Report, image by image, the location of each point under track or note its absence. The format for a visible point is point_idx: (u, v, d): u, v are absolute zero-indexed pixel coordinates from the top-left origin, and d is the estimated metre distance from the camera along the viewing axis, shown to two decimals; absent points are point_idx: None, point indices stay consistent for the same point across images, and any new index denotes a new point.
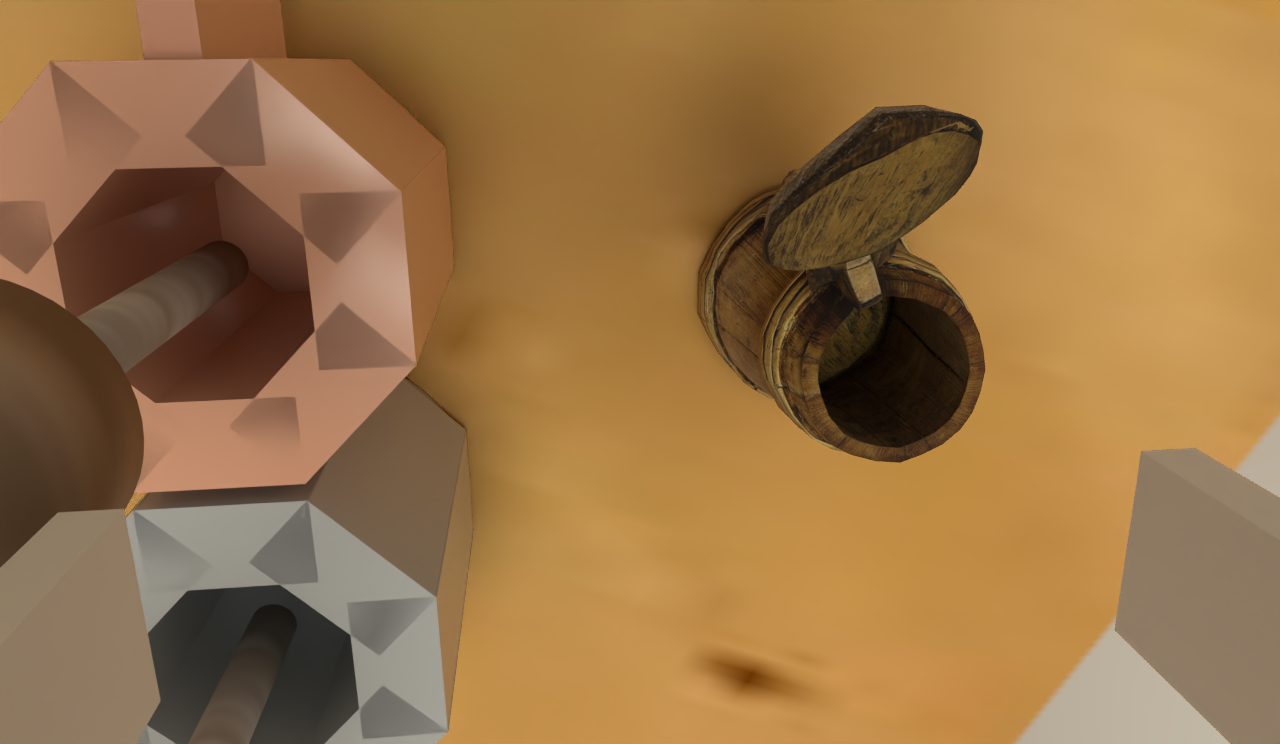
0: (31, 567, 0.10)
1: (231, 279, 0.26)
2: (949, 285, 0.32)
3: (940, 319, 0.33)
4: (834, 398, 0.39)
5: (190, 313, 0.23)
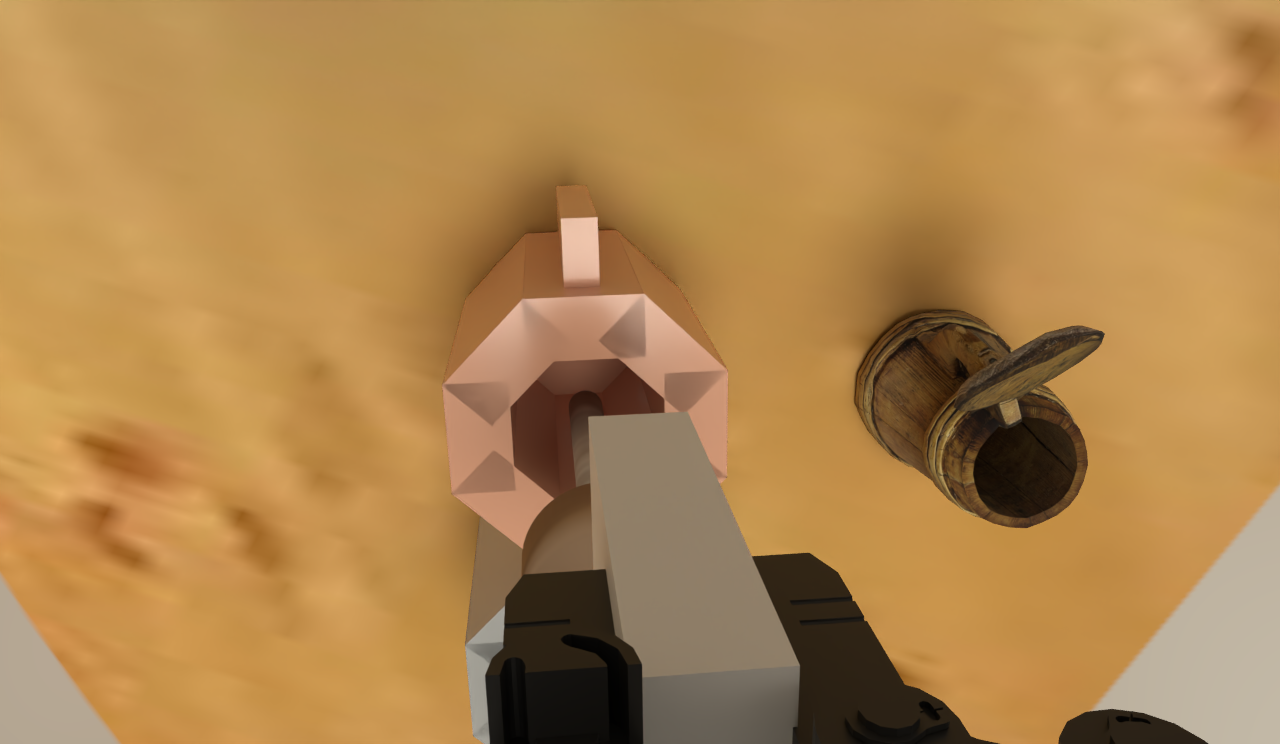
0: (618, 450, 0.13)
1: None
2: (1062, 405, 0.45)
3: (1051, 424, 0.47)
4: None
5: None
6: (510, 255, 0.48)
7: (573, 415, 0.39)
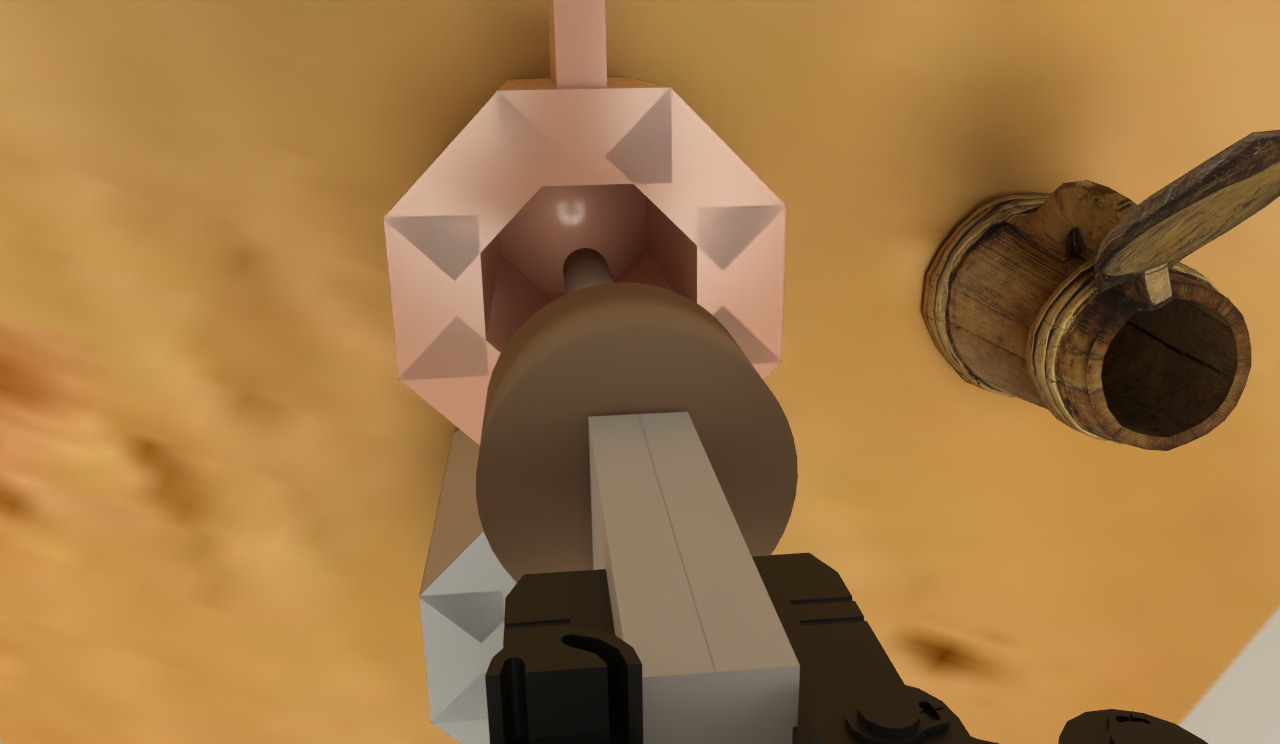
0: (617, 450, 0.13)
1: None
2: (1214, 287, 0.34)
3: (1193, 319, 0.36)
4: None
5: None
6: None
7: (569, 272, 0.28)
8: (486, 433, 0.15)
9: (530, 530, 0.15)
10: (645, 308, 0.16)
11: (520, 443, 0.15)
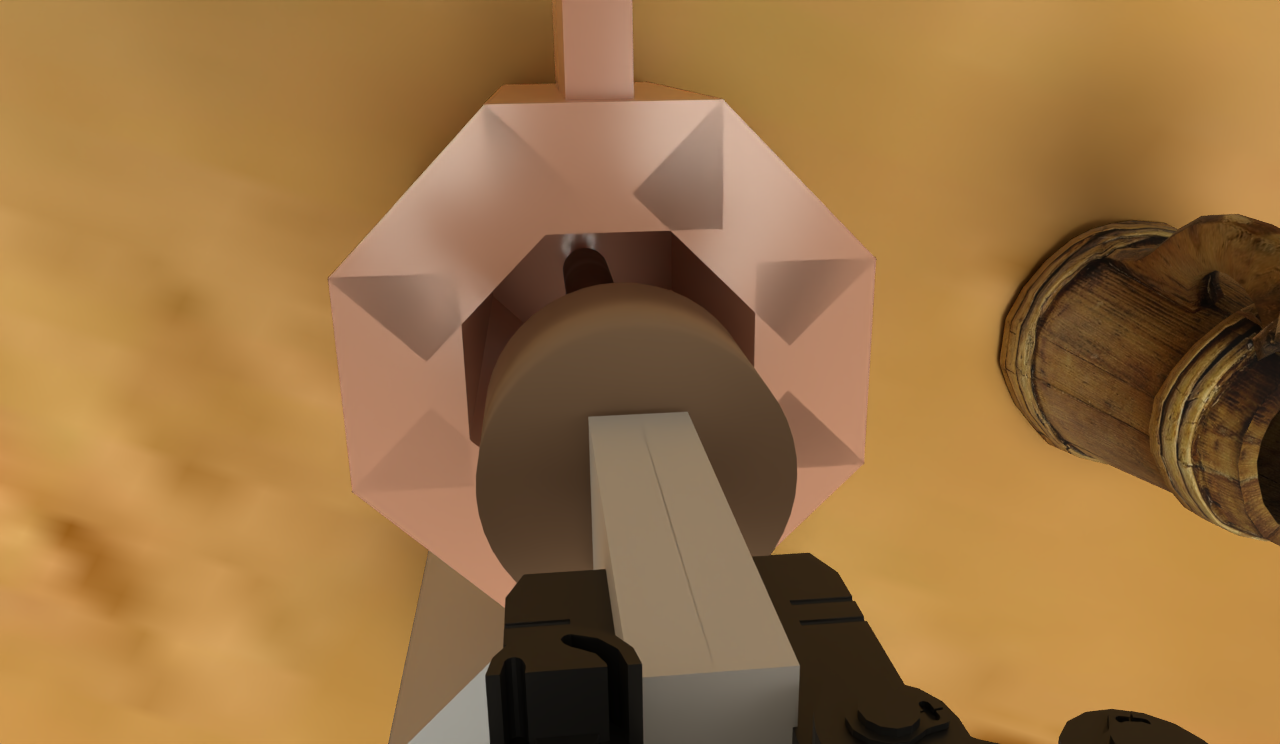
0: (617, 450, 0.13)
1: None
2: None
3: None
4: None
5: None
6: None
7: (569, 271, 0.28)
8: (486, 433, 0.15)
9: (530, 530, 0.15)
10: (645, 308, 0.16)
11: (520, 443, 0.15)
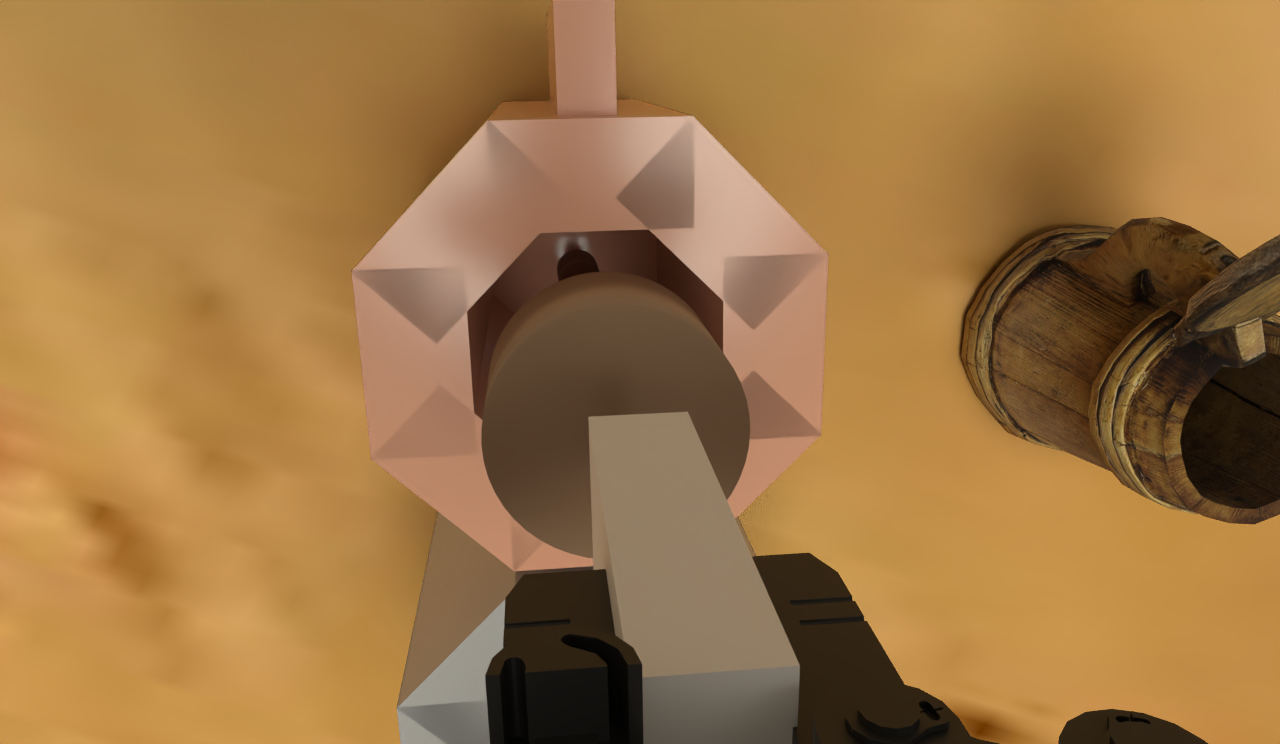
0: (617, 450, 0.13)
1: None
2: None
3: (1277, 371, 0.32)
4: None
5: None
6: None
7: (562, 270, 0.32)
8: (490, 393, 0.18)
9: (527, 475, 0.18)
10: (623, 291, 0.19)
11: (518, 401, 0.18)
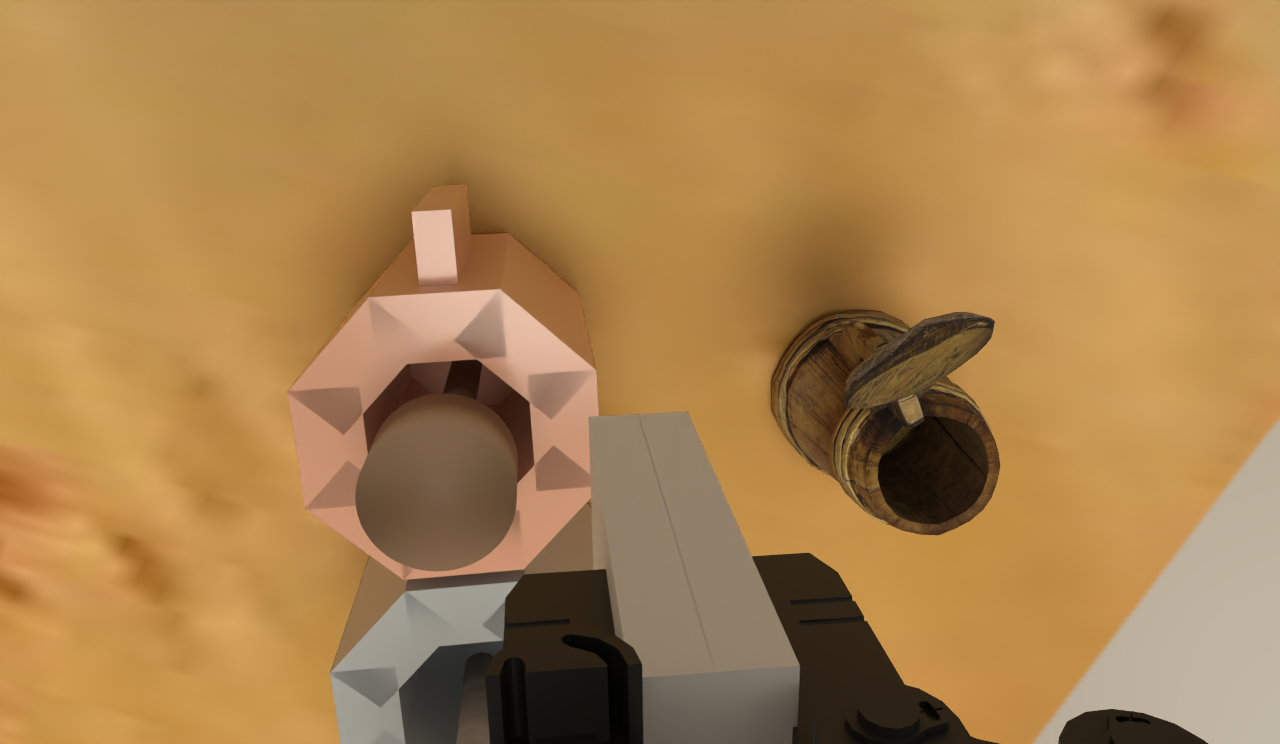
0: (617, 450, 0.13)
1: (480, 370, 0.45)
2: (971, 403, 0.43)
3: (965, 424, 0.44)
4: (882, 477, 0.50)
5: None
6: None
7: (451, 365, 0.44)
8: (359, 476, 0.31)
9: (384, 523, 0.31)
10: (441, 411, 0.32)
11: (376, 480, 0.31)
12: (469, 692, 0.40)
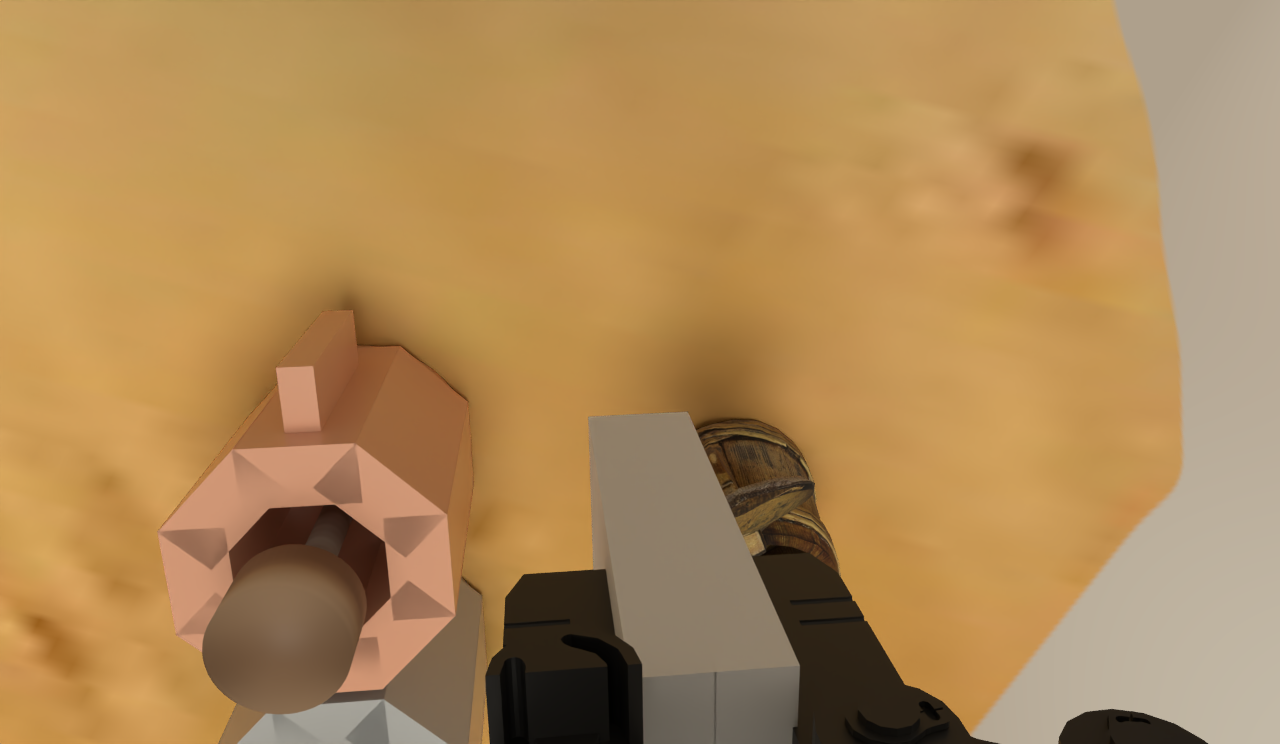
0: (618, 450, 0.13)
1: None
2: (817, 530, 0.46)
3: None
4: None
5: None
6: None
7: None
8: (205, 632, 0.34)
9: (229, 672, 0.34)
10: (286, 569, 0.35)
11: (221, 635, 0.34)
12: None
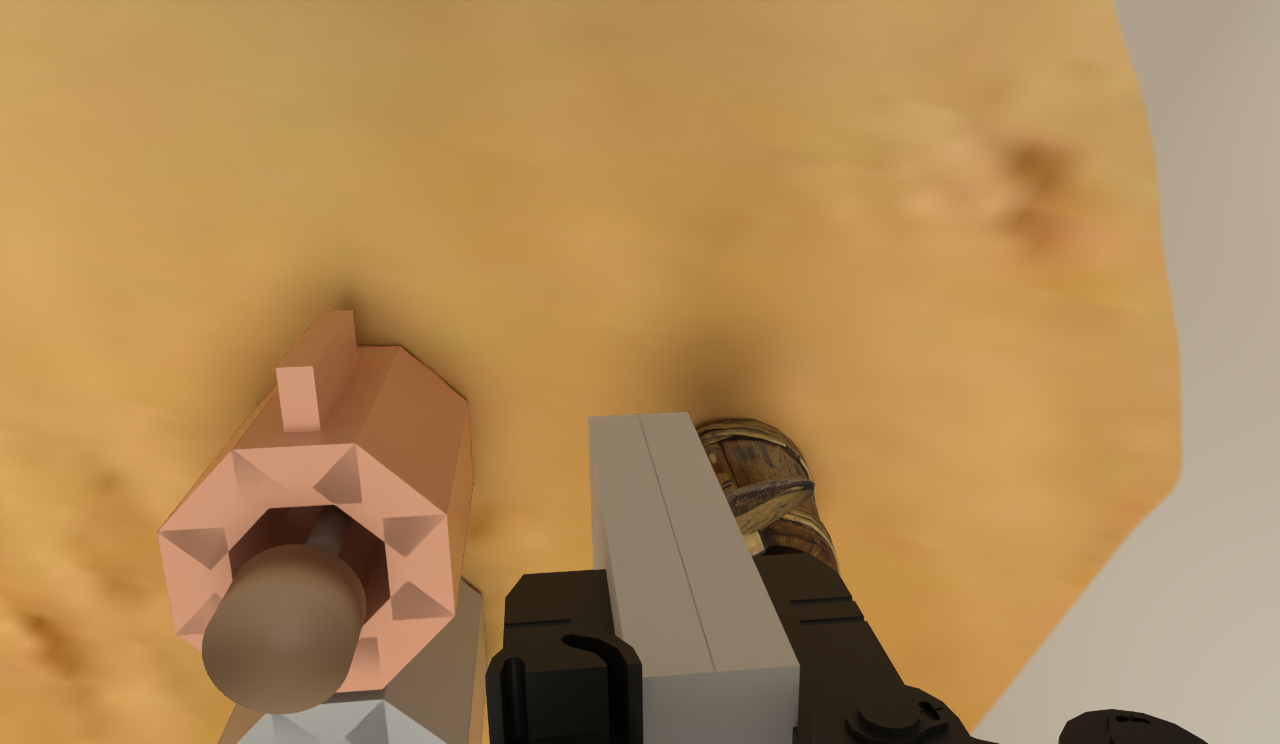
0: (617, 450, 0.13)
1: None
2: (817, 530, 0.46)
3: None
4: None
5: None
6: None
7: None
8: (204, 632, 0.34)
9: (229, 672, 0.34)
10: (285, 569, 0.35)
11: (220, 635, 0.34)
12: None
